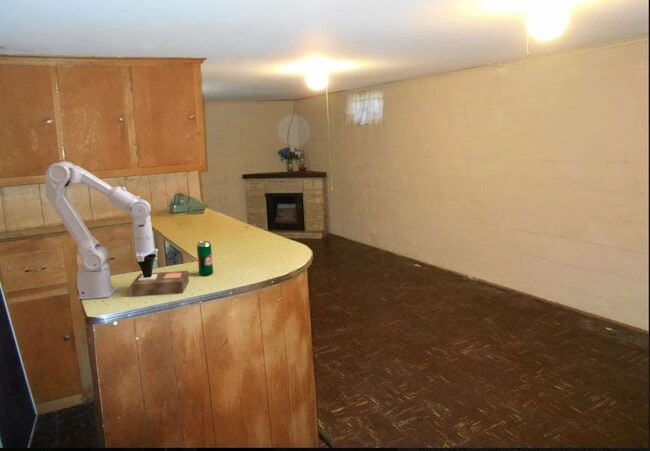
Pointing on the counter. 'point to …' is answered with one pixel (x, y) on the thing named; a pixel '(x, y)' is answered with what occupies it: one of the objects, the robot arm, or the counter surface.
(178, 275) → the terracotta key
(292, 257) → the counter surface
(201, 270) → the soda can
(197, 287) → the counter surface
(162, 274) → the key console
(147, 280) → the offwhite key
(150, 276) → the robot arm
